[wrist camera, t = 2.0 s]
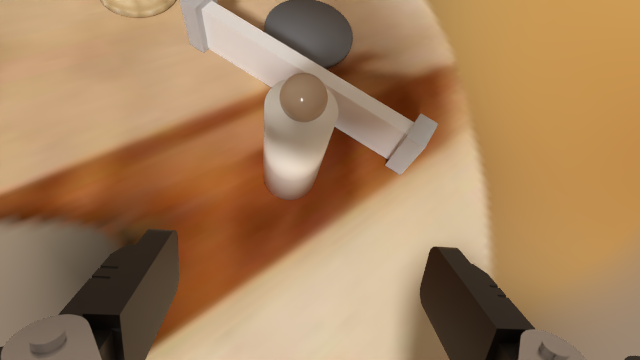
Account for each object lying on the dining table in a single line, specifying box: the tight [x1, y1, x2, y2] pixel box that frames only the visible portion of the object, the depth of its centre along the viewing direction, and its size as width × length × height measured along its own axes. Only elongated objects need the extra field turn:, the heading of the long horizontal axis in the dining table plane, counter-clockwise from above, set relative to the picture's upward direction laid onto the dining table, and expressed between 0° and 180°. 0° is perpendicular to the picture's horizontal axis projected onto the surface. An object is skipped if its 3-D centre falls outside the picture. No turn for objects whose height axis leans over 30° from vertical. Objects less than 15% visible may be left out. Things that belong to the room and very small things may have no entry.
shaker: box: [263, 73, 338, 200], centre depth 26 cm, size 5×5×14 cm
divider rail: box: [179, 0, 438, 175], centre depth 33 cm, size 26×3×6 cm, turn 58°
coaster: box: [265, 0, 353, 68], centre depth 39 cm, size 10×10×1 cm
